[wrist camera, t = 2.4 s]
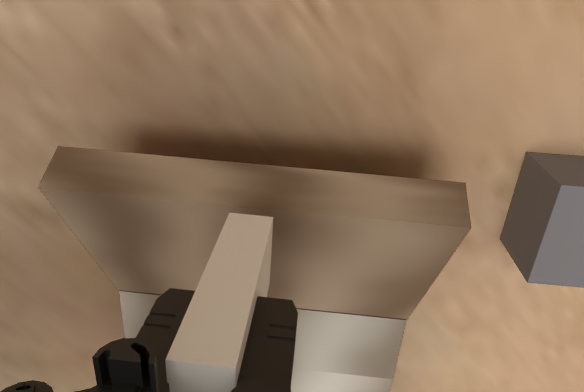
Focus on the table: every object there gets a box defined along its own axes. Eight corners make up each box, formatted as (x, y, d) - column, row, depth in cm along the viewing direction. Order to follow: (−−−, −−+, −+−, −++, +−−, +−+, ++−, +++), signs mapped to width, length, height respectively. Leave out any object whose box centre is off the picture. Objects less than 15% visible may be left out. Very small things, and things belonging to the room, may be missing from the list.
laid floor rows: (144, 377, 31) (133, 402, 30) (132, 270, 27) (118, 291, 26) (378, 403, 31) (381, 429, 29) (401, 296, 27) (406, 320, 25)
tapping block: (499, 237, 25) (527, 282, 21) (525, 150, 23) (561, 185, 19) (593, 245, 25) (638, 292, 21) (629, 158, 22) (686, 194, 19)
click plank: (128, 257, 27) (117, 289, 25) (58, 146, 18) (37, 187, 17) (405, 284, 26) (407, 319, 25) (465, 182, 18) (471, 227, 17)
